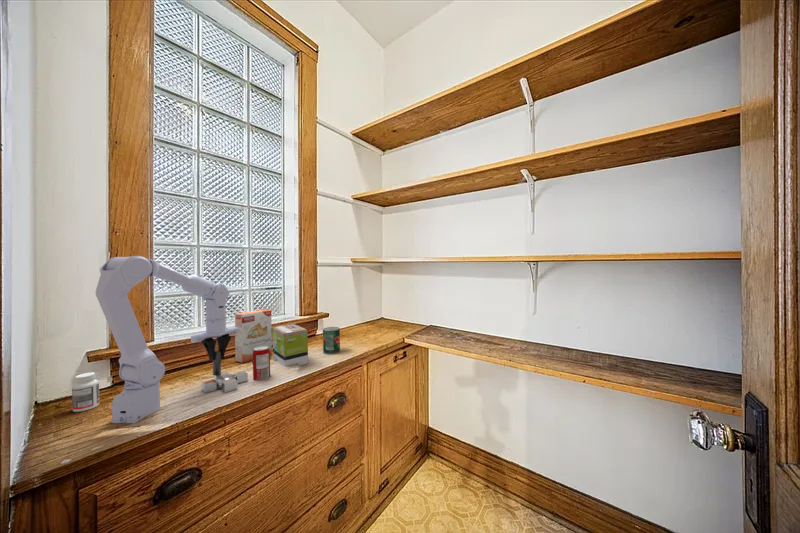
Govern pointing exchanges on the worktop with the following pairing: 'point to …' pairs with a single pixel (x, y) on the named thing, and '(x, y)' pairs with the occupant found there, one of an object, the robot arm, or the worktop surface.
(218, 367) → the black pin
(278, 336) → the tea box
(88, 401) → the pill bottle
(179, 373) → the worktop surface
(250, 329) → the cracker box
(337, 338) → the canned tomato
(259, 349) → the soda can
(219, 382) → the tabbed chrome dome
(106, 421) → the worktop surface
